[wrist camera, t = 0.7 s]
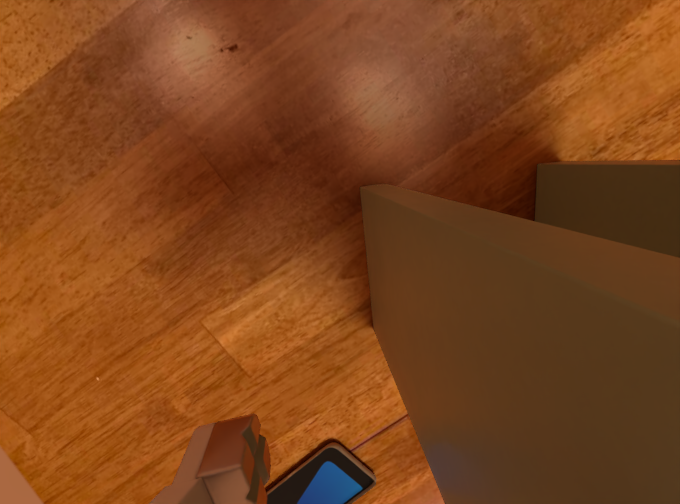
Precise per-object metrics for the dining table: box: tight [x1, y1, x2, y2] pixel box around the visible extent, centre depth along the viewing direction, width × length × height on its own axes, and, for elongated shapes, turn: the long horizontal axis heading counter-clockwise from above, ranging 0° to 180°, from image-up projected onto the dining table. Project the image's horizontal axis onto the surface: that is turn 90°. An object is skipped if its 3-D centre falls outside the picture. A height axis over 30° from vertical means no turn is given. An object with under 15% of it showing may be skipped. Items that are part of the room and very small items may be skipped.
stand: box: [360, 160, 680, 504], centre depth 15 cm, size 12×16×24 cm
